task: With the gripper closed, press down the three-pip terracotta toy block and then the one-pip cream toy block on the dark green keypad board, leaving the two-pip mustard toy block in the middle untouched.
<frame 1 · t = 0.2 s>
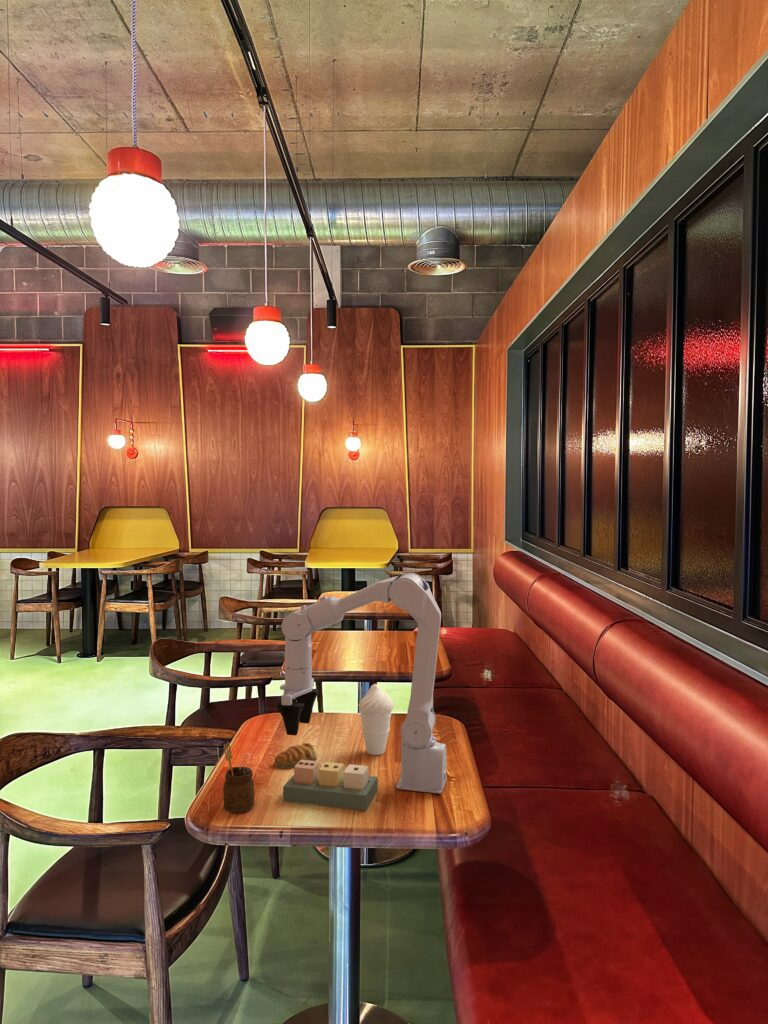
hand: (298, 728, 149), 10 cm above the table, fingers open, 7 cm apart
toy block 2: (331, 777, 139), point 4 cm above the table, slide at 0.0 cm
pastry: (297, 763, 156), on the table
utensil holder: (238, 808, 134), on the table
toy block 1: (356, 779, 137), point 4 cm above the table, slide at 0.0 cm
toy block 3: (306, 774, 140), point 4 cm above the table, slide at 0.0 cm
soft serve ice cream cone: (375, 752, 162), on the table
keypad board: (331, 796, 139), on the table
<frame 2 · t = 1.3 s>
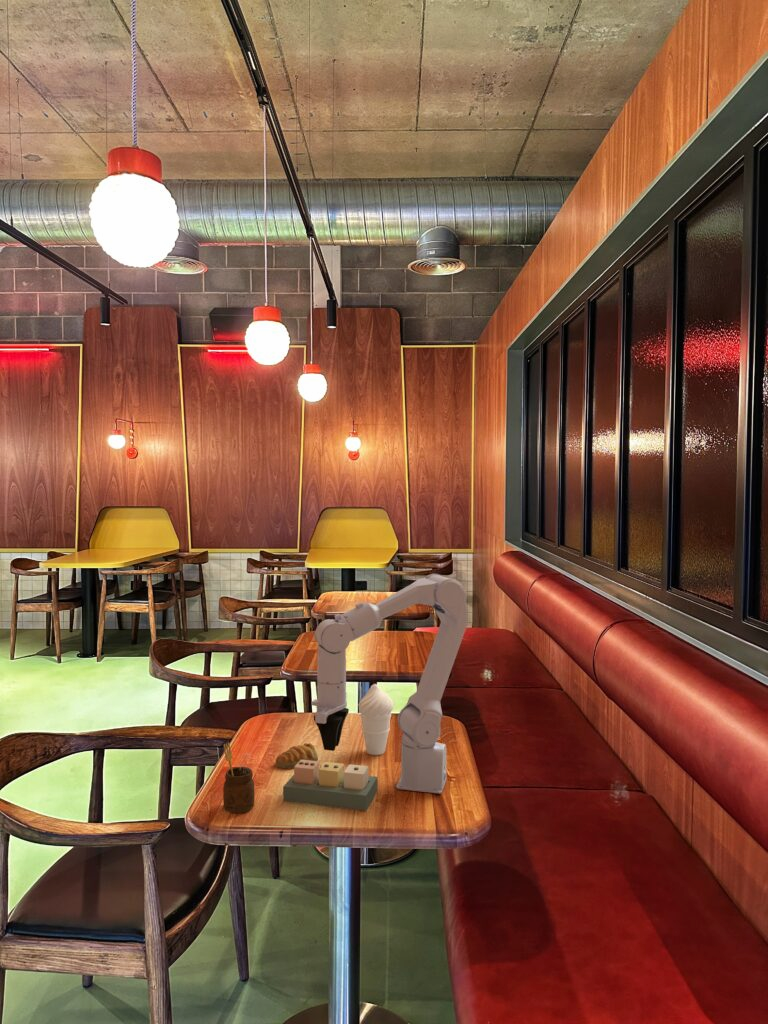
hand: (331, 747, 138), 10 cm above the table, fingers closed
nothing on the table moved.
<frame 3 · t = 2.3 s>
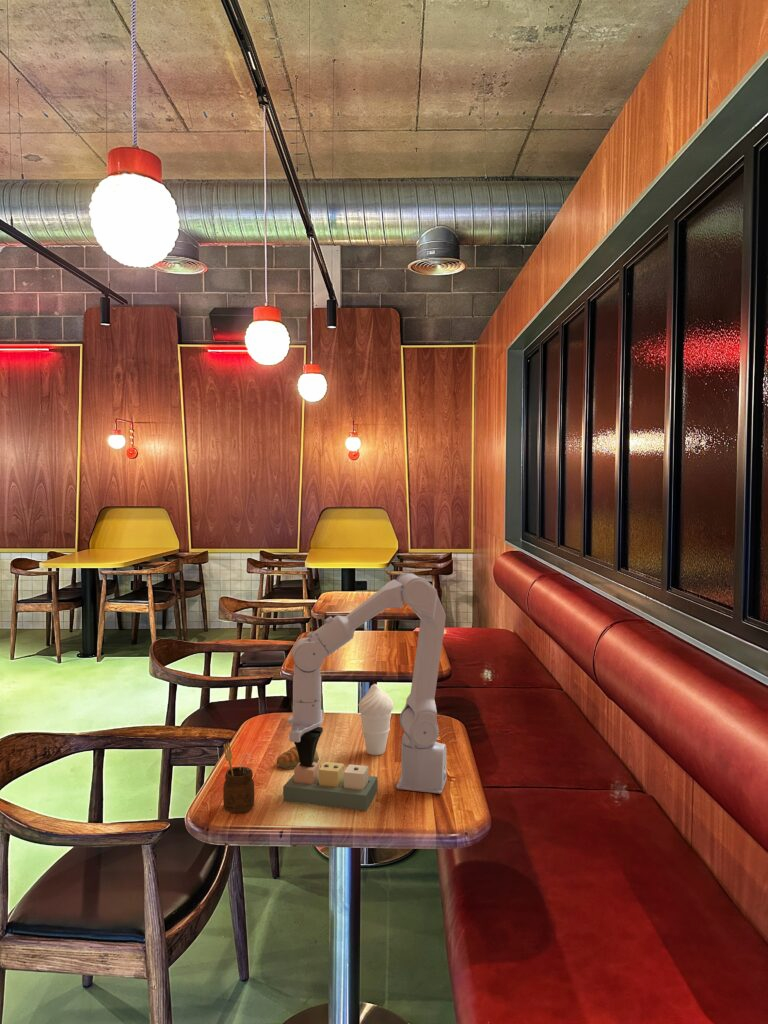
hand: (306, 765, 140), 6 cm above the table, fingers closed, pressing on toy block 3
toy block 3: (306, 776, 140), point 4 cm above the table, slide at 0.3 cm, touching gripper
everything else where it was.
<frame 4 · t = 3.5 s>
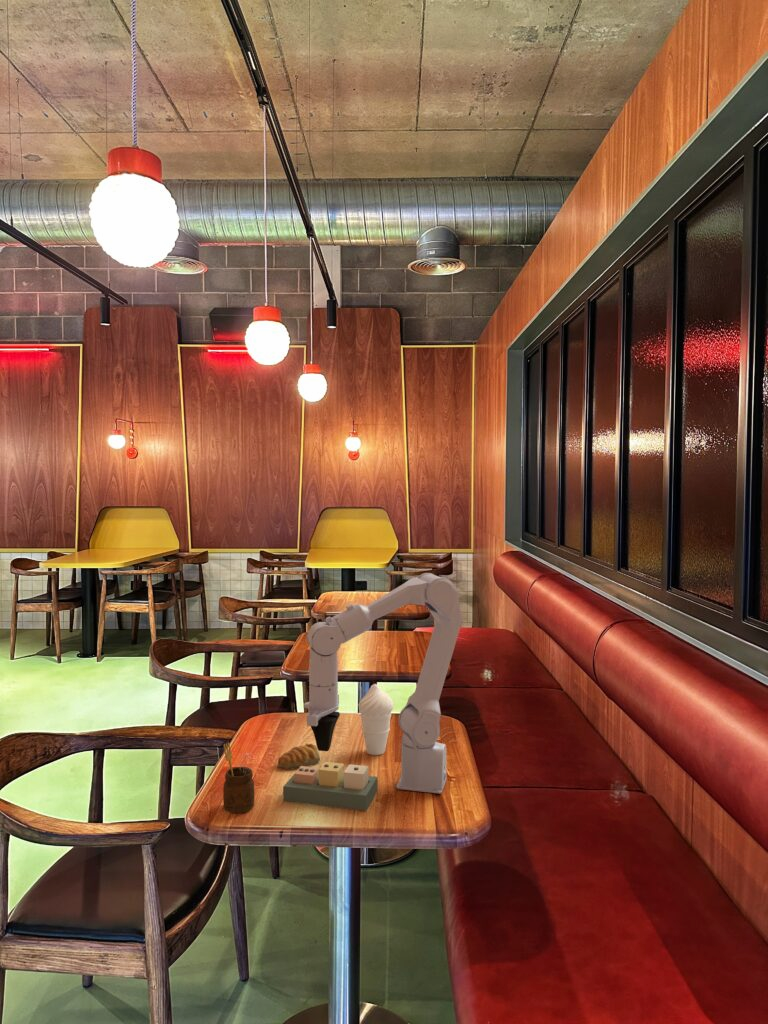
hand: (323, 749, 139), 9 cm above the table, fingers closed
toy block 3: (306, 781, 140), point 3 cm above the table, slide at 1.3 cm
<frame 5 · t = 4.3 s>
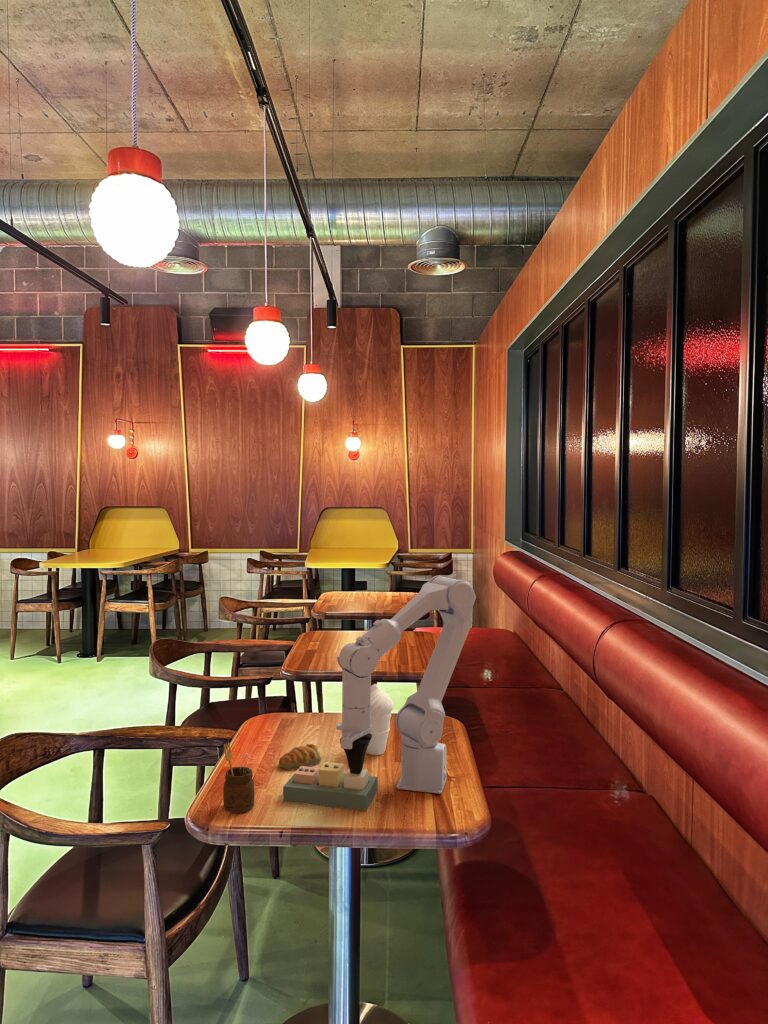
hand: (355, 772, 137), 5 cm above the table, fingers closed, pressing on toy block 1
toy block 1: (356, 783, 137), point 3 cm above the table, slide at 0.7 cm, touching gripper
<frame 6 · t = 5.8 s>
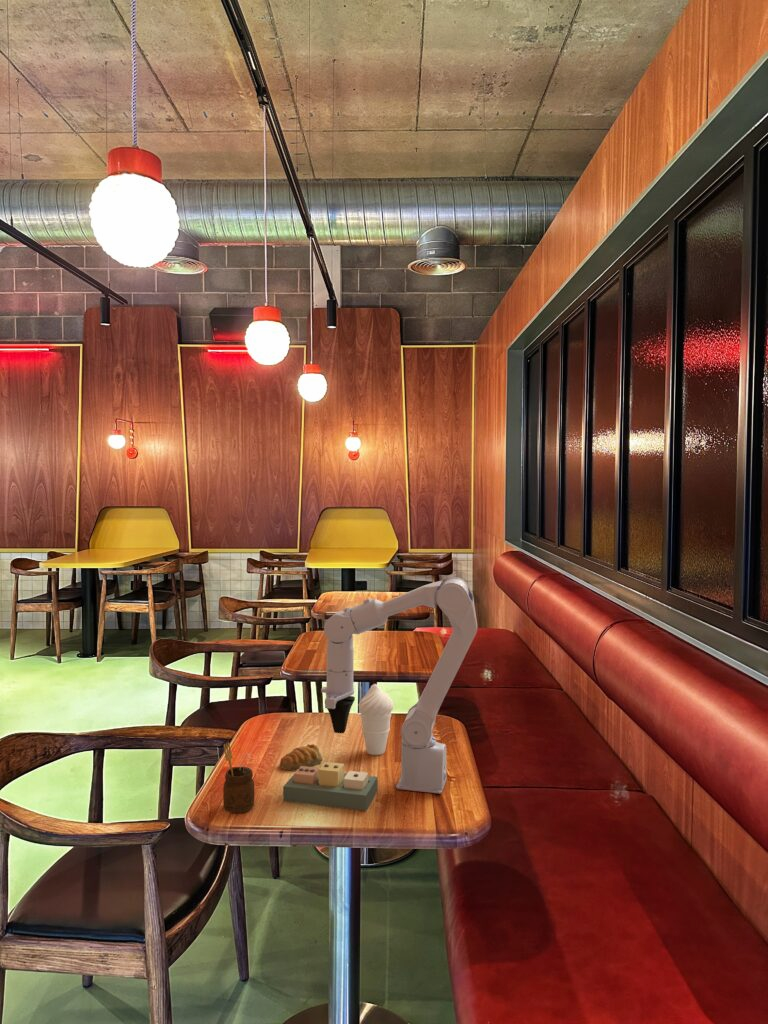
hand: (339, 731, 147), 10 cm above the table, fingers closed
toy block 1: (356, 786, 137), point 3 cm above the table, slide at 1.3 cm
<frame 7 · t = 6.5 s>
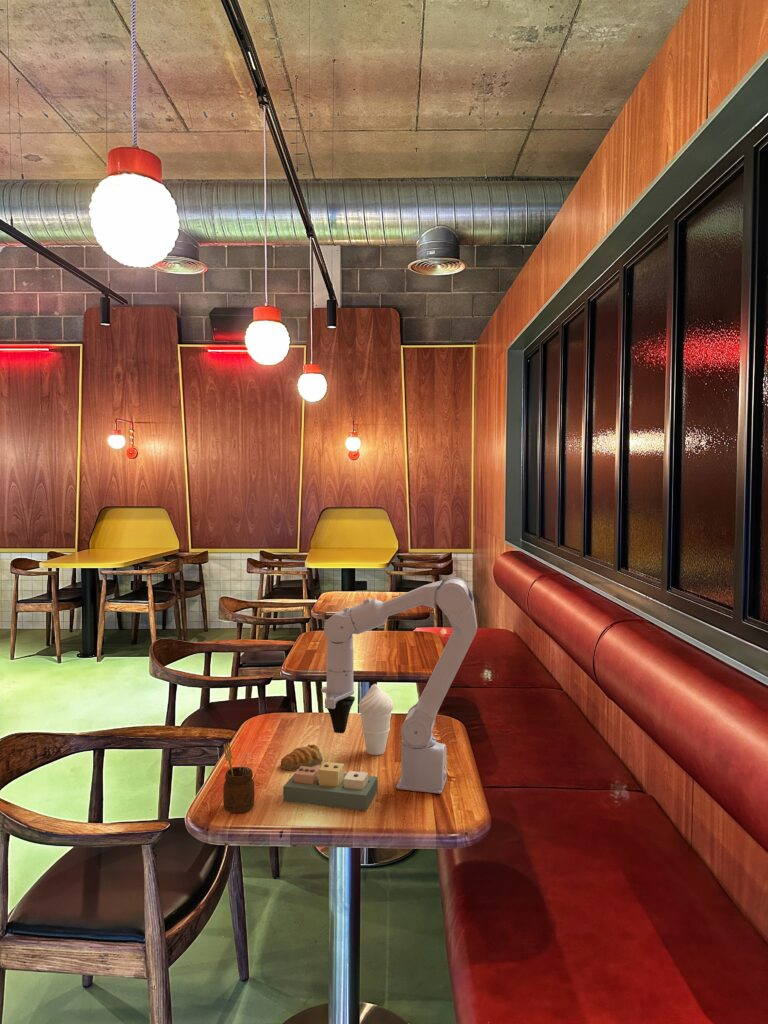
hand: (339, 731, 147), 10 cm above the table, fingers closed
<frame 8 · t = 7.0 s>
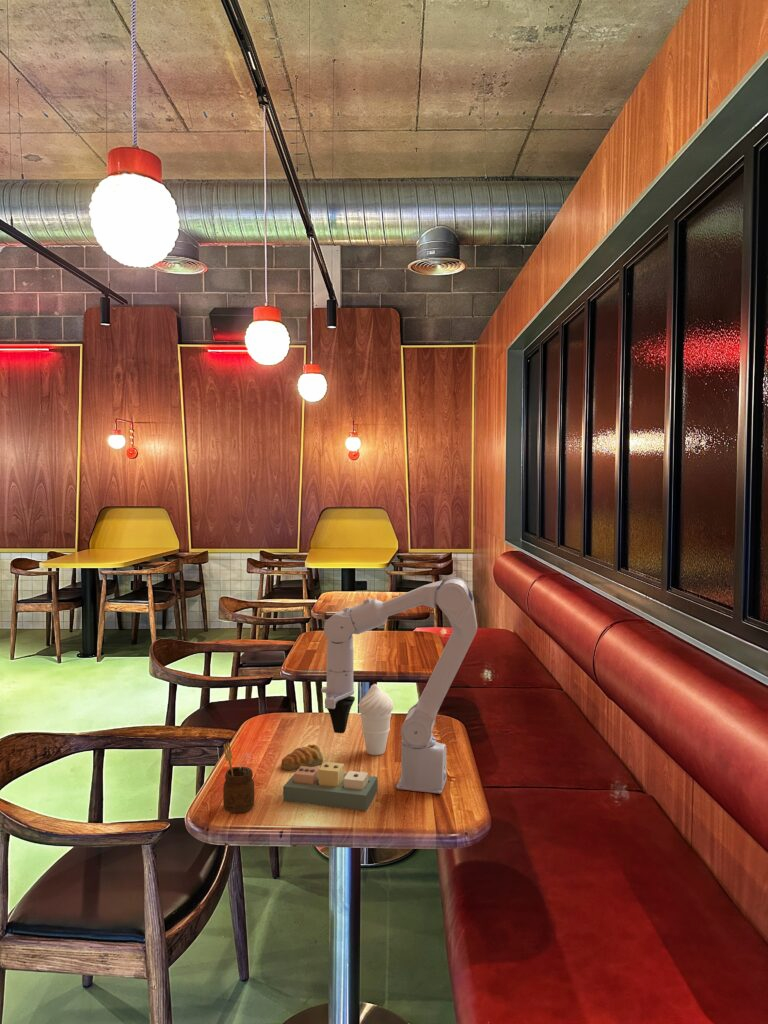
hand: (339, 731, 147), 10 cm above the table, fingers closed
at the end: toy block 3 slide at 1.3 cm; toy block 1 slide at 1.3 cm; toy block 2 slide at 0.0 cm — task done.
